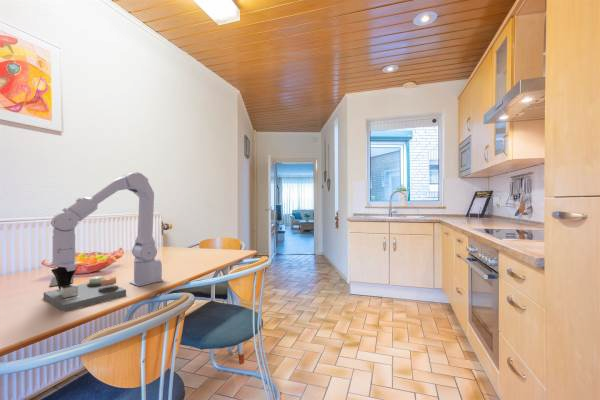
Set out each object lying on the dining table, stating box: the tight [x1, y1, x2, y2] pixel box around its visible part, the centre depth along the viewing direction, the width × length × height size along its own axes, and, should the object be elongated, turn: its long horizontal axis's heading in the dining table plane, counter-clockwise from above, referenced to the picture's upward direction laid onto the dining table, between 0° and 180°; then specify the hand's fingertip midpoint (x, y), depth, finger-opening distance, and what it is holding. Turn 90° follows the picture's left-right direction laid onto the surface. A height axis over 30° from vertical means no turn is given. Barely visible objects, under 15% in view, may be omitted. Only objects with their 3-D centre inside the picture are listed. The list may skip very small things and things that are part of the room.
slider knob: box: [60, 283, 79, 298], centre depth 87 cm, size 4×3×3 cm
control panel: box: [43, 282, 127, 313], centre depth 93 cm, size 17×20×3 cm
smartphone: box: [49, 275, 74, 288], centre depth 111 cm, size 7×1×15 cm
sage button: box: [88, 275, 105, 284], centre depth 100 cm, size 4×4×2 cm
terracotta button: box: [101, 276, 117, 286], centre depth 94 cm, size 4×4×2 cm
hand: (64, 289), depth 90 cm, fingers closed
